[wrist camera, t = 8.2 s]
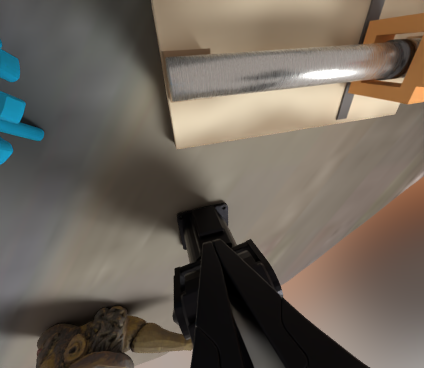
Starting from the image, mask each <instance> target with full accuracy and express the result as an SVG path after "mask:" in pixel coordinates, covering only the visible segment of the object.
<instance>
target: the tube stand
mask: <svg viewBox="0 0 424 368" xmlns="http://www.w3.org/2000/svg"><path fill="white" fill-rule="evenodd" d="M151 4H152V10H153V16H154V22H155V28H156V34H157V40H158V46H159V52H160V58H161V64H162V70H163V76H164V82H165V88H166V94H167V100H168V106H169V112H170V118H171V124H172V130H173V136H174V142H175V146H176V148H177V149H183V148H189V147H195V146H202V145H208V144H214V143H220V142H226V141H233V140H239V139H245V138H251V137H257V136H263V135H270V134H276V133H282V132H288V131H294V130H301V129H307V128H313V127H319V126H325V125H332V124H338V123H344V122H350V121H356V120H363V119H369V118H375V117H381V116H387V115H393V114H395V113H396V111H397V109H398V107H399V104H400V103H398V102H393V101H388V100H383V99H377V98H372V97H367V96H361V95H356V94H351V93H348V90H349V87H350V84H351V82H354V81H363V80H372V79H375V80H378V81H386V82H396V83H402V82H403V80H404V78H405V75H406V73H407V71H408V69H409V66H410V64H411V62H412V60H413V57H414V55H415V53H416V51H417V48H418V46H419V44H420V41H421V39H422V37H423V35H424V32H417V33H405V34H396V35H395V38H394V40H389V41H387V42H385V43H371V44H363V42H364V39H365V35H366V32H367V29H368V26H369V22H370V21H373V20H380V19H386V18H393V17H400V16H406V15H413V14H420V13H424V0H151Z"/></svg>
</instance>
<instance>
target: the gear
mask: <svg viewBox="0 0 424 368" xmlns="http://www.w3.org/2000/svg"><path fill="white" fill-rule="evenodd" d="M1 47H2V42H1V40H0V48H1ZM19 77H20V65H19V60H18V59H17V58H16V57H14V56H12V55H11V54H9V53H7V52H5V51H4V50H2V49H0V78H2V79H4V80H7V81H9V82H15V81H17V80H18V79H19ZM25 105H26V103H25V102H24V101H23V100H21V99H19V98H16V97H14V96H11V95H9V94H6V93H4V92H1V91H0V132H3V133H7V134H11V135H15V136H19V137H23V138H27V139H31V140H35V141H41V140H42V139H43V137H44V131H43V130H42V129H40V128H37V127H34V126H31V125H28V124H24V123H21V122H20V120H21V118H22V116H23V113H24V110H25ZM12 153H13V148H12V145H11V144H10V143H9V142H7V141H5V140H4V139H2V138H1V137H0V165H1V164H2V163H4V162H5V161H6V160H7V159H8V158H9V157H10V155H11V154H12Z"/></svg>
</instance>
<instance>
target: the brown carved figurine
mask: <svg viewBox="0 0 424 368" xmlns="http://www.w3.org/2000/svg"><path fill="white" fill-rule="evenodd" d="M37 347H38V351H37V364H36V368H134V364H133V361H132V359H131V358H130V357H129V356H128V355H126V354H125V353H124V352H126V351H128V350H130V349H131V351H132V352H136V353H160V352H168V351H180V350H190V351H191V350H192V349H193V344H192V341H191V339H188V340H186V339H185V338H184V336H183V335H182V334H177V333H174V332H170V331H168V330H165V329H163V328H161V327H160V326H158V325H157V324H155V323H146V321H145V320H143V319H141V318H138V317H134V316H127V310H126V309H125V308H122V307H121V306H113V307H112V308H111V309H108V308H103V309H101V310H99V311H98V312H97V314H96V315H95V317H94V320H92V321H90V322H88V323H87V324H85V325H83V326H79V327H78V326H74V325H72V324H58V325H55V326H53V327H51V328H49V329H47V330H46V331H45V332H44V333H43V334H42V335H41V336H40V338H39V340H38V342H37Z"/></svg>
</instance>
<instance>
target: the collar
mask: <svg viewBox="0 0 424 368" xmlns="http://www.w3.org/2000/svg"><path fill="white" fill-rule="evenodd" d="M417 32H424V13H420V14H413V15H406V16H400V17H393V18H386V19H380V20H373V21H370V22H369V26H368V29H367V32H366V35H365V39H364V42H363V44H371V43H385V42H387V41H389V40H394V38H395V35H396V34H405V33H417ZM348 93H351V94H356V95H361V96H367V97H372V98H377V99H383V100H388V101H393V102H398V103H404V104H412V103H419V102H424V35H423V37H422V39H421V41H420V44H419V46H418V48H417V51H416V53H415V55H414V57H413V60H412V62H411V64H410V66H409V69H408V71H407V73H406V75H405V78H404V80H403V82H402V83H396V82H386V81H378V80H375V79H372V80H363V81H354V82H351V84H350V87H349V90H348Z"/></svg>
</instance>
